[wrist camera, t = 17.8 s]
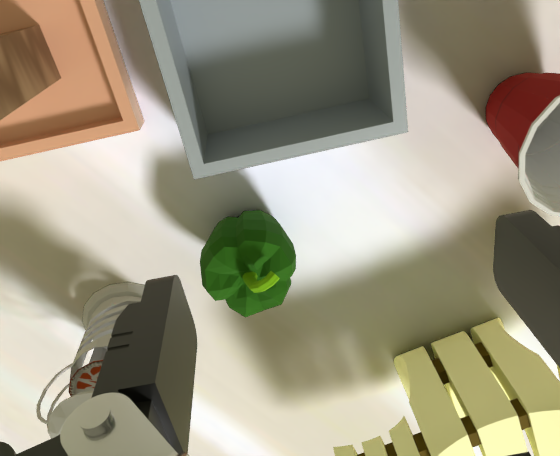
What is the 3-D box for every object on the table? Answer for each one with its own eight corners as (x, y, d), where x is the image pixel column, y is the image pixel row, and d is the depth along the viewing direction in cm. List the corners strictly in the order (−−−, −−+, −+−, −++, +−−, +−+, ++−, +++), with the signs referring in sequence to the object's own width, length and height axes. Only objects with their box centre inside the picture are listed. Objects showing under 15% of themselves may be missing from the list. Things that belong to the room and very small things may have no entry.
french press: (193, 341, 54) (167, 603, 32) (94, 372, 55) (2, 648, 33) (155, 269, 49) (94, 518, 27) (47, 304, 50) (-96, 573, 28)
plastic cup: (430, 113, 44) (493, 160, 34) (531, 15, 41) (635, 34, 30) (499, 186, 48) (574, 249, 38) (596, 102, 45) (708, 146, 34)
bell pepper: (222, 282, 51) (220, 349, 42) (191, 214, 47) (181, 272, 38) (301, 256, 50) (316, 319, 41) (276, 185, 46) (286, 238, 37)
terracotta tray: (-109, -24, 36) (-131, -23, 34) (80, -67, 35) (70, -69, 33) (-16, 157, 42) (-29, 167, 40) (144, 121, 42) (139, 130, 40)
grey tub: (139, -64, 36) (117, -70, 29) (356, -114, 36) (387, -132, 29) (199, 144, 44) (194, 179, 37) (379, 104, 43) (408, 132, 36)
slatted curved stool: (572, 273, 54) (711, 400, 38) (587, 370, 61) (709, 510, 46) (317, 370, 57) (349, 523, 42) (360, 451, 65) (402, 607, 49)
